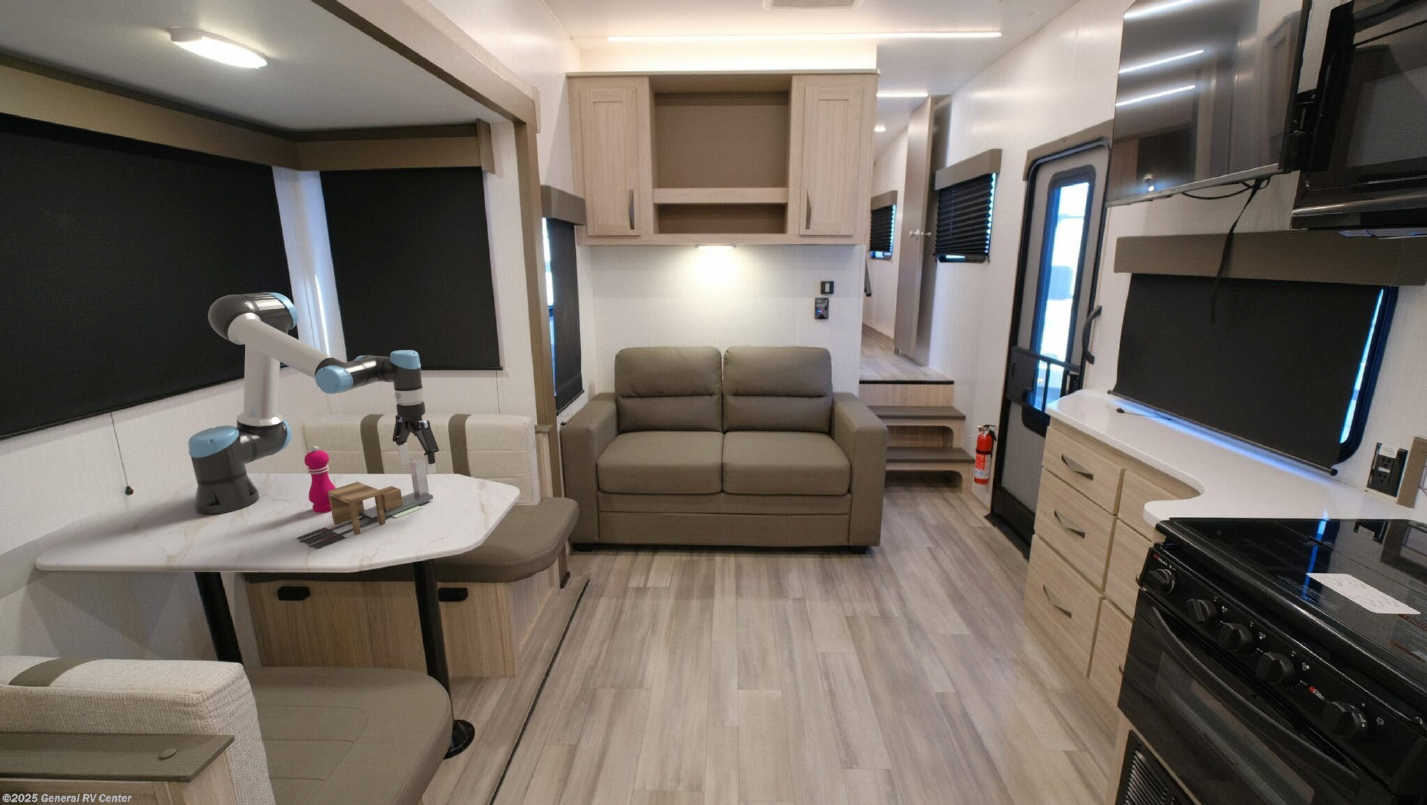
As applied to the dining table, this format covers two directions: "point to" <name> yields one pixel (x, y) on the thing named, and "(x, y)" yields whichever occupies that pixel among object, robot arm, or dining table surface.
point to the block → (391, 497)
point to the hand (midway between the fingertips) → (418, 468)
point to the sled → (411, 499)
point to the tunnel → (353, 503)
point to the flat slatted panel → (321, 538)
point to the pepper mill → (319, 480)
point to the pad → (406, 511)
